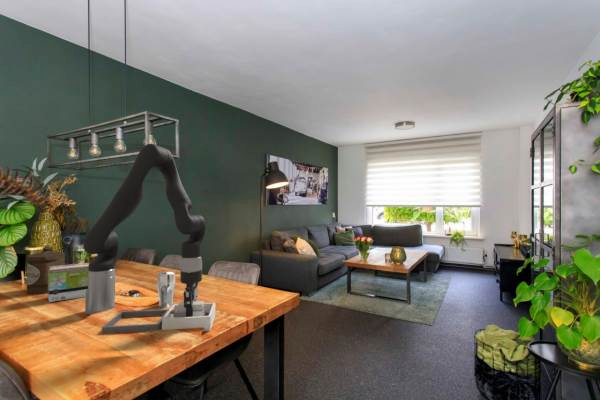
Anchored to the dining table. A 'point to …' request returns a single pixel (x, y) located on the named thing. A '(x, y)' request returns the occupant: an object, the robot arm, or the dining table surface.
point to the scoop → (183, 314)
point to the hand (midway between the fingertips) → (190, 314)
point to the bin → (190, 319)
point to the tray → (131, 328)
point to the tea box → (67, 281)
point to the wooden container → (41, 269)
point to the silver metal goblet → (166, 288)
